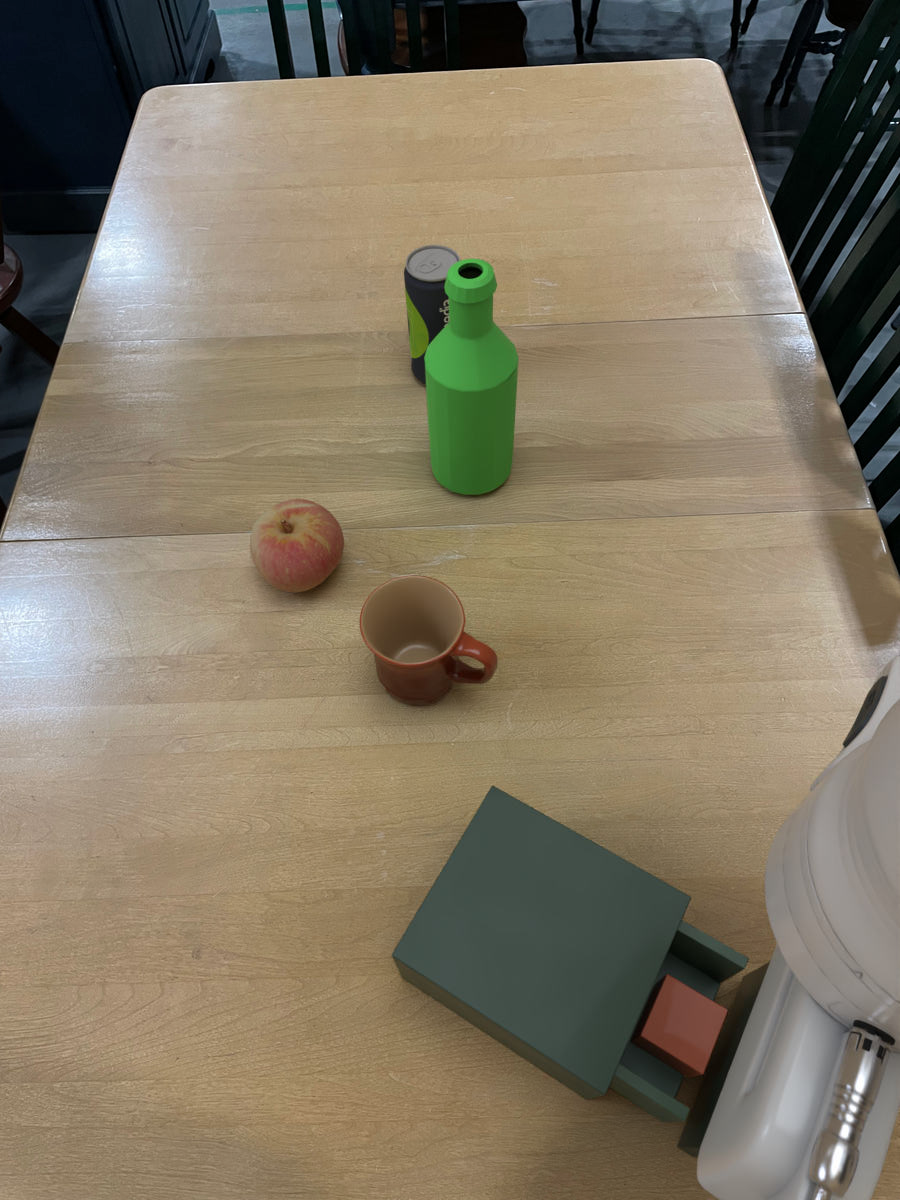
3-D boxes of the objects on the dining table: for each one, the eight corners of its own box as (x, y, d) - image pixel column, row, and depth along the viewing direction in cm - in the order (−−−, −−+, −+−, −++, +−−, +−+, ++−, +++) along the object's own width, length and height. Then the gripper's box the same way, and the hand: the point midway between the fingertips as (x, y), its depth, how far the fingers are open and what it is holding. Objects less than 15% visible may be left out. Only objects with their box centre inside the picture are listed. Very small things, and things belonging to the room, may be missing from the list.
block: (713, 1017, 61) (728, 1009, 58) (688, 1078, 59) (703, 1075, 56) (655, 982, 63) (667, 973, 59) (629, 1041, 61) (640, 1035, 57)
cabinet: (664, 926, 67) (692, 896, 58) (587, 1100, 61) (605, 1095, 52) (490, 825, 71) (492, 784, 63) (401, 977, 65) (390, 955, 57)
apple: (364, 559, 86) (355, 510, 79) (308, 622, 82) (294, 576, 76) (298, 521, 89) (283, 471, 82) (241, 580, 85) (221, 533, 78)
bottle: (476, 426, 95) (477, 225, 74) (528, 471, 92) (545, 273, 71) (415, 465, 93) (397, 268, 71) (466, 513, 89) (463, 320, 68)
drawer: (822, 1022, 62) (864, 1009, 55) (762, 1203, 56) (801, 1212, 50) (582, 883, 68) (594, 855, 61) (505, 1034, 62) (509, 1023, 55)
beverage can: (432, 398, 98) (425, 289, 85) (401, 368, 101) (391, 258, 88) (474, 375, 100) (475, 264, 87) (443, 346, 103) (439, 235, 90)
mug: (355, 696, 78) (340, 641, 69) (397, 621, 82) (389, 561, 73) (474, 746, 75) (474, 696, 66) (512, 666, 79) (517, 609, 71)
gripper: (937, 1331, 21) (776, 1263, 33) (1085, 695, 30) (918, 818, 42) (700, 1175, 23) (627, 1162, 35) (906, 620, 32) (794, 757, 44)
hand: (787, 970), depth 39 cm, fingers open, 8 cm apart
